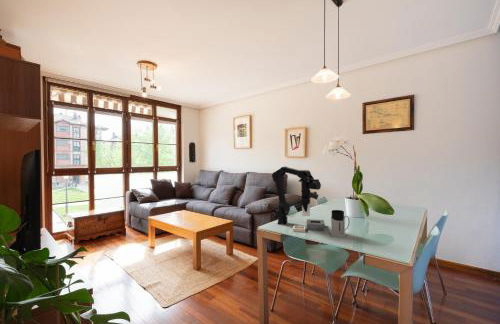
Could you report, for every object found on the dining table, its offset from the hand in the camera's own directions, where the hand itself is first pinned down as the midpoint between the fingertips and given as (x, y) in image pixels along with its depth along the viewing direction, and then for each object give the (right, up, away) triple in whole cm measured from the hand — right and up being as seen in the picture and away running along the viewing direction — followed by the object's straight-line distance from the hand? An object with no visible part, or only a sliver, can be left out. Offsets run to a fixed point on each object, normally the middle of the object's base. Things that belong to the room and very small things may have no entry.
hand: (306, 211), depth 162 cm
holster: (-5, -13, -2) cm, 14 cm away
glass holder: (+19, -13, -15) cm, 27 cm away
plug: (0, -3, 0) cm, 3 cm away
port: (+8, -12, +4) cm, 15 cm away
